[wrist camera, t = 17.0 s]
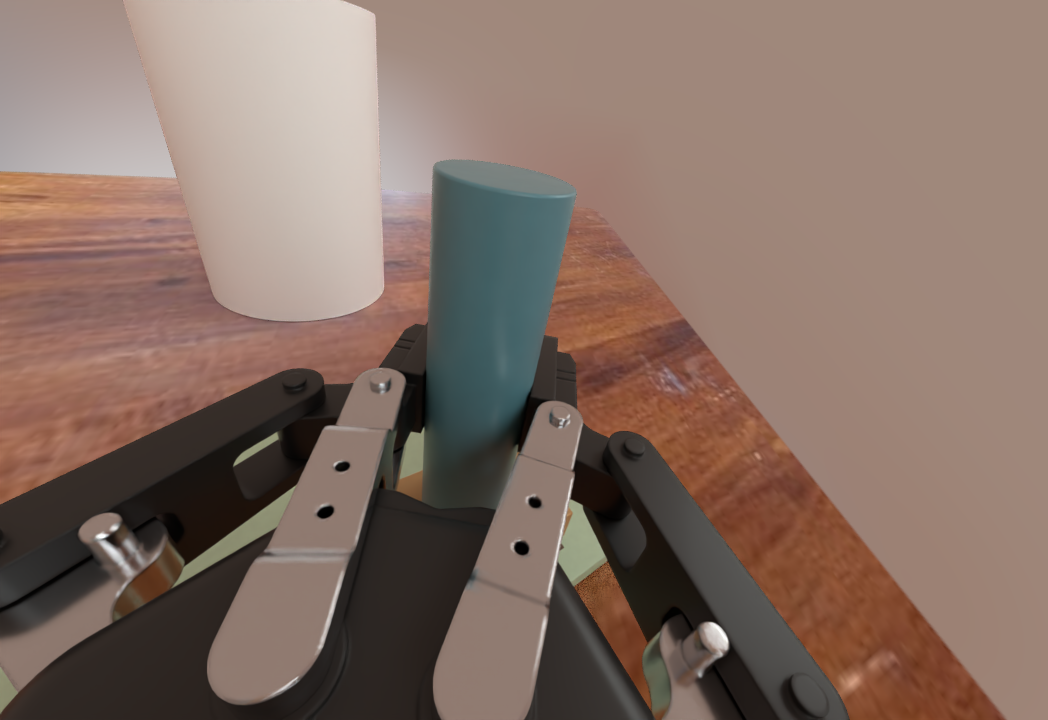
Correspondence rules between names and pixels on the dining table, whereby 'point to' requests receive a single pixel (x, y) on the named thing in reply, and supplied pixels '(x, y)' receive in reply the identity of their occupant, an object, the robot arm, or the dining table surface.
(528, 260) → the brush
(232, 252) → the canister
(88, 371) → the dining table surface
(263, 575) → the robot arm
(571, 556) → the board
